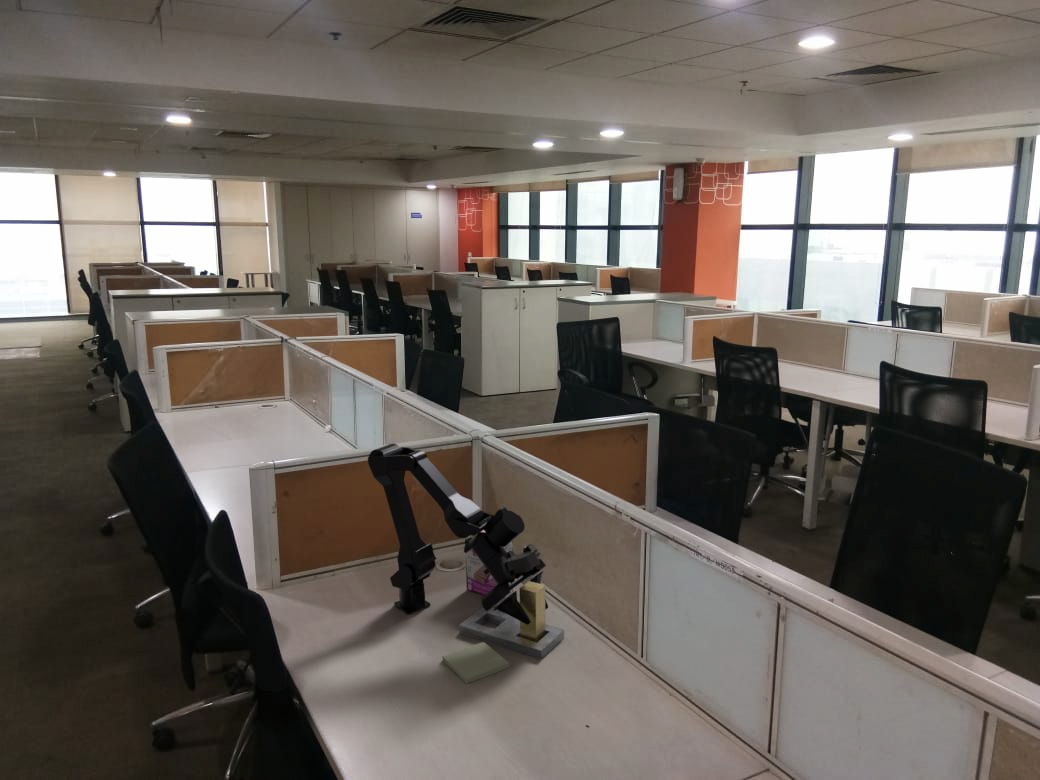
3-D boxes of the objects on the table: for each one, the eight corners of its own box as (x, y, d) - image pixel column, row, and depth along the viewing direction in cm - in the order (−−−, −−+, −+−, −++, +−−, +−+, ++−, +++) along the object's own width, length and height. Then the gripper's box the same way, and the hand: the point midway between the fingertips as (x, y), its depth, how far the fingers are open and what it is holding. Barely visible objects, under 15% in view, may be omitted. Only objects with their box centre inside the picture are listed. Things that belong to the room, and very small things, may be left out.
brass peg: (520, 644, 167) (519, 588, 164) (529, 635, 170) (529, 581, 167) (536, 649, 165) (535, 592, 162) (545, 640, 168) (545, 585, 165)
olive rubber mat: (442, 660, 161) (442, 656, 160) (483, 646, 166) (483, 641, 166) (466, 683, 153) (466, 678, 152) (508, 667, 158) (508, 662, 158)
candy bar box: (465, 591, 191) (463, 528, 188) (477, 583, 195) (475, 522, 192) (503, 602, 185) (501, 538, 182) (514, 594, 190) (513, 531, 186)
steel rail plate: (459, 633, 171) (459, 625, 171) (484, 614, 180) (484, 606, 179) (541, 659, 161) (541, 650, 160) (564, 637, 169) (564, 629, 169)
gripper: (491, 553, 157) (539, 616, 153) (538, 523, 172) (582, 580, 169) (461, 580, 162) (506, 642, 159) (508, 549, 178) (550, 604, 175)
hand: (538, 615), depth 165 cm, fingers open, 7 cm apart
